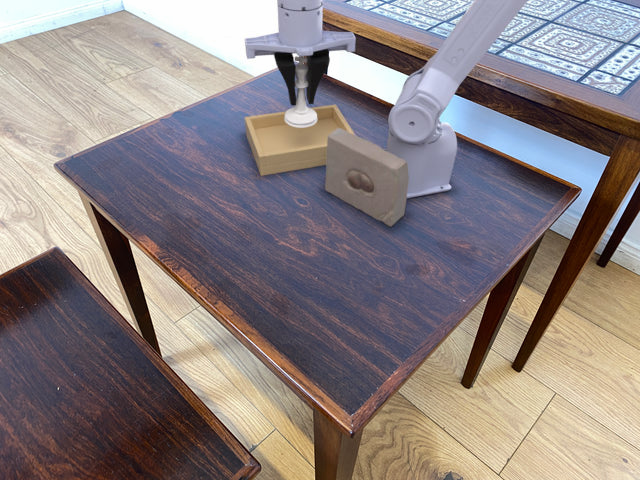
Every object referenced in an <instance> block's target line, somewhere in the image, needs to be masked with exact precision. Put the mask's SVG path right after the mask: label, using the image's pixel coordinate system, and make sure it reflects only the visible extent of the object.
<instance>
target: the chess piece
mask: <svg viewBox="0 0 640 480" xmlns="http://www.w3.org/2000/svg"><path fill="white" fill-rule="evenodd" d="M307 59H308V58H306V57H304V56H298V55H297V56H294V62H298V64H295V66H296V69H295V78H296V79H295V88H297V91H296V105H294V106H293V107H291V108H289V109H287V110H285V111H286V113H285V117H284V120H285V122H286V123H287V124H288V125H290V126H292V127H297V128H306V127H310V126H312V125H314V124H315V123H316V122H317V120H318V118H317V113H316V112H315V111H314V110H313V109H311V108H312V107H309V106H307V98H306V87H307V86H308V85H309V84H308V82H307V72H308V66H307ZM304 63H306V64H304Z"/></svg>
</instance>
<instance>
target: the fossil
mask: <svg viewBox="0 0 640 480" xmlns="http://www.w3.org/2000/svg"><path fill="white" fill-rule="evenodd" d="M325 166H326V167H325V182H324V190H325V191H326V192H328V193H329V194H331V195H333V196H335V197H336V198H338V199H340V200H341V201H343V202H345V203H346V204H348V205H350V206H352V207H354V208H355V209H356V210H360V211H362V213H364V214H366V215H368V216H370V217H372V219H374V220H377V221H379V222H382V223H383V224H385V225H386V226H387V227H390V228H392V227H393V226H394V225H395V224H396V223H397V222H398V221H399V220H401V219H402V218H403V217H404V216H405V213H406V205H407V199H408V198H407V188H408V181H409V174H408V166H407V162H406V161H405V160H403V159H401V158H399V157H397V156H395V155H394V154H391V153H389V152H387V151H386V150H385V149H384V148H382V147H380V146H379V145H377V144H375V143H373V142H371V141H369V140H367V139H365V138H362V137H361V136H357V135H356V134H355V135H353V134H352V133H349V132H348V131H346V130H343V129H341V128H337V129H336V130H334V131H333V132H332V133H331V134H329V135H328V140H327V161H326V165H325ZM406 198H407V199H406Z"/></svg>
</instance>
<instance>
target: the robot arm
mask: <svg viewBox="0 0 640 480" xmlns="http://www.w3.org/2000/svg"><path fill="white" fill-rule="evenodd" d="M528 1H529V0H473V1H472V2H471V4H470V5H469V6H468V8H467V9H466V11H465V12H464V13H463V14H462V16H461V18H460V19H459V20H458V22H457V23H456V25H454V27H453V29H452V30H451V31H450V33H449V34H448V36H447V37H446V38H445V40H444V41H443V43H442V44H441V46H440V47H439V48H438V50H437V51H436V52H435V54H433V55H432V56H431V57H430V58H429V59H428V61H427V62H426V63H425V65H424V66H423V67H421V68H420V69H419V70H416V71H415V72H413V73H411V74H410V75H409V76H408V77H407V78H406V79H405V81H404V83H403V85H402V89H401V91H400V94H399V96H398V98H397V99H396V102H395V104H394V106H392V108H391V109H390V112H389V114H388V119H387V121H388V133H387V141H386V142H387V143H386V150H385V151H387V152H389V153H391V154H394V155H395V156H397V157H399V158H401V159H403V160H405V161H406V162H407V166H408V174H409V181H408V188H407V198H406V200H408V199H411V198H417V197H422V196H427V195H433V194H437V193H438V194H439V193H443V192H449V191H451V190H452V186H451V184H450V181H451V177H452V173H453V170H454V165H455V161H456V157H457V153H458V139H457V135H456V133H455V130H454V128H453V127H452V126H451V124H450V123H448V122H442V121H441V120H440V118H441V115H442V114H443V113H444V112H445V110H446V109H447V107H448V106H449V104H450V103H451V100H452V99H453V97H454V95H455V94H456V92H457V91H458V89H459V87H460V85H461V84H462V83H463V82H464V80H465V79H466V78H467V76H468V75H470V73H471V72H472V71H473V69H475V67H476V65H477V64H478V63H480V61H481V60H482V58H483V57H484V56H485V54H487V52H488V50H489V49H490V48H491V47H492V46H493V44H494V43H495V42H496V41H497V39H498V38H499V37H500V36H501V34H503V32H505V30H506V28H507V27H508V26H509V24H510V23H511V22H512V21H513V20H514V19H515V18H516V16H517V15H518V14H519V12H520V11H521V10H522V9H523V7H524V6H525V5H526V4H527V2H528ZM276 2H277V21H278V25H277V26H278V27H277V28H278V32H274V33H269V34H264V35H261V36H256V37H255V36H254V37H246V38H244V46H245V55H246V59H247V60H251V59H255V58H256V57H261V56H263V57H264V56H273V57H274V61H275V65H276V67H277V69H278V71H279V73H280V74H281V76H282V79H283V81H284V83H285V85H286V88H287V92H288V99H289V103H290V106H291V107H295V105H296V98H297V91H296V87H295V81H296V74H295V69H296V66H295V65H296V64H295V56H294V55H293V54H296V55H297V57H299V56H303V57H305V58H308V59H307V63H306V66H308V72H307V74H306V81H307V82H308V84H309V85H308V86H307V87H306V88H305V96H306V101H307V103H308V105H313V104H314V103H315V98H316V94H317V90H318V88H319V85H320V82H321V80H322V78H323V77H324V74H325V73H326V71H327V69H328V68H329V65H330V61H331V58H330V56H329V55H330V54H329V52H338V51H346V52H347V53H354V52H356V41H357V40H356V36H355V34H354V32H353V31H334V30H333V31H331V30H323V18H324V17H323V16H324V15H323V11H324V0H276Z"/></svg>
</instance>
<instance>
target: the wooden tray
mask: <svg viewBox="0 0 640 480" xmlns="http://www.w3.org/2000/svg"><path fill="white" fill-rule="evenodd" d="M310 108H311V109H313V110H314V111H315V112H316V113H317V118H318V120H317V122H316V123H315V124H314V125H312V126H310V127H306V128H297V127H292V126H290V125H288V124H287V123H286V122H285V120H284V117H285V113H286V111H287V110H285V111H279V112H272V113H271V112H270V113H264V114H256V115H250V116H244V126H245V135H246V138H247V141H248V145H249V147H250V150H251V153H252V155H253V159H254V161H255V164H256V166H257V169H258V172H259V174H260V175H259V176H261V177H262V176H269V175H275V174H280V173H281V174H282V173H286V172H292V171H298V170H304V169H310V168H317V167H322V166H326V161H327V140H328V135H329V134H331V133H332V132H333V131H334V130H336V129H337V128H341V129H343V130H346V131H348V132H349V133H352V134H353V135H356V134H355V132H354V130H353V128H351V126H350V124H349V123H348V122H347V119H346V118H345V117H344V115H343V114H342V111H341V110H340V109H339V108H338V106H337V104H329V105H321V106H314V107H310Z"/></svg>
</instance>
